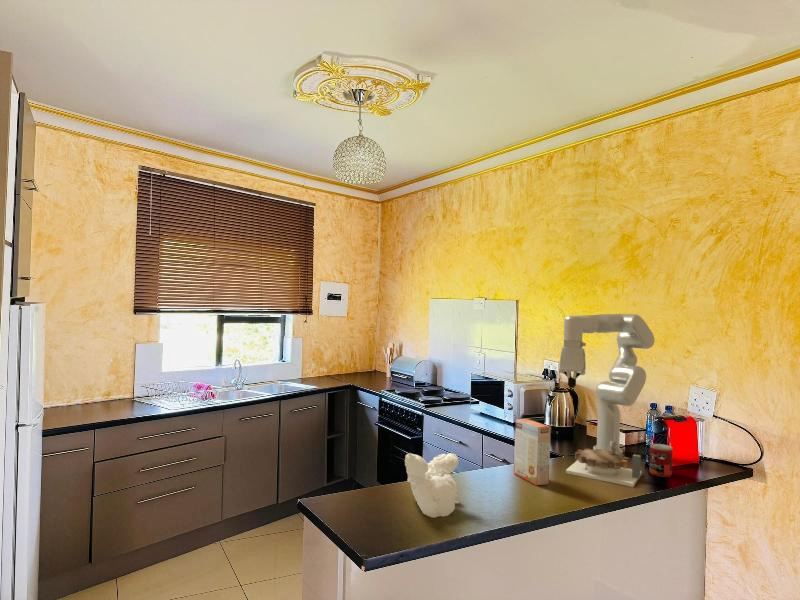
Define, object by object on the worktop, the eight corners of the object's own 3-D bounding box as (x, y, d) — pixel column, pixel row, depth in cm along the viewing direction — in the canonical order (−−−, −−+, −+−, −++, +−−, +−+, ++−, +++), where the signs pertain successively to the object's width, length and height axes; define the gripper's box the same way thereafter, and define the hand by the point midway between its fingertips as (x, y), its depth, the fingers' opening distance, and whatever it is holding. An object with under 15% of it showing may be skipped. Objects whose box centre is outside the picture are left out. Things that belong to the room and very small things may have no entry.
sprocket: (615, 455, 205) (616, 437, 206) (637, 470, 186) (637, 450, 186) (568, 453, 206) (569, 435, 206) (585, 468, 186) (586, 447, 187)
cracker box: (550, 485, 179) (551, 426, 180) (536, 486, 177) (538, 427, 178) (526, 472, 192) (528, 418, 193) (513, 474, 190) (514, 418, 191)
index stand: (578, 462, 210) (579, 439, 210) (643, 474, 196) (644, 450, 196) (565, 473, 194) (566, 449, 194) (635, 487, 180) (636, 461, 180)
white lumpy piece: (434, 495, 139) (405, 442, 154) (409, 542, 147) (384, 487, 162) (486, 489, 149) (454, 439, 164) (459, 533, 157) (431, 482, 172)
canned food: (644, 471, 200) (645, 444, 200) (660, 470, 202) (661, 443, 203) (660, 478, 193) (660, 449, 193) (676, 476, 195) (677, 448, 195)
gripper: (592, 345, 215) (591, 388, 215) (557, 343, 223) (556, 384, 223) (589, 346, 209) (588, 390, 208) (553, 344, 217) (551, 386, 216)
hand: (571, 387), depth 215 cm, fingers closed
